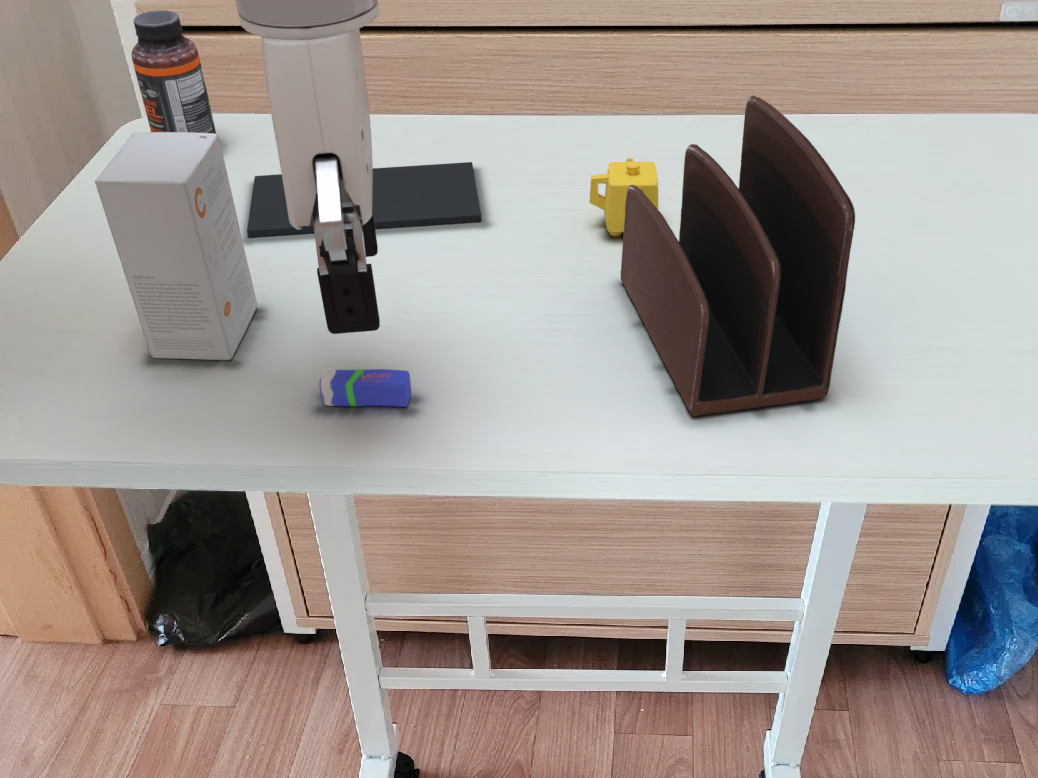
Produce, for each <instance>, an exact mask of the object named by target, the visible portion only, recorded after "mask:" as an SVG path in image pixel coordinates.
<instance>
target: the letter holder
mask: <svg viewBox="0 0 1038 778" xmlns="http://www.w3.org/2000/svg"><path fill="white" fill-rule="evenodd" d="M684 153H685V154H684V162H683V178H682V190H681V191H682V192H681V193H682V195H681V207H680V221H679V233H678V236H679V237H678V238H677V236H676V235H675V233H674V231H673V229H672V228H671V227H670V225H669V223H668V222H667V220H666V218H665V217H664V216H663V214H662V213H661V211H660V210H659V208H658V209H657V208H656V207H655V205H654V204H653V203H652V202H651V201H650V200H649V198H648V197H647V196H646V195H645V194H644V192H643V191H642V190H641V189H639V188H638V187H637V186H635V185H630V186H629V188H628V191H627V196H626V204H625V220H624V232H623V233H622V234H623V237H622V238H623V239H622V248H621V249H622V250H621V260H620V261H621V263H620V280H621V283H622V284H623V286H624V288H625V290H626V291H627V294H628V295H629V298H630V300H631V302H632V303H633V305H634V307H635V309H636V311H637V313H638V315H639V317H640V319H641V322H642V323H643V325H644V326H645V329H646V331H647V333H648V335H649V336H650V339H651V340H652V342H653V344H654V346H655V348H656V350H657V353H658V354H659V356H660V358H661V360H662V362H663V364H664V366H665V369H666V370H667V371H668V373H669V375H670V378H671V379H672V381H673V383H674V384H675V387H676V388H677V391H678V392H679V394H680V396H681V397H682V400H683V401H684V403H685V404H684V405H685V406H686V407H687V409H688V411H689V413H690V414H691V415H692V416H693V417H696V416H704V415H710V414H718V413H725V412H726V413H728V412H734V411H742V410H743V411H744V410H748V409H757V408H764V407H772V406H780V405H787V404H793V403H801V402H808V401H816V400H817V401H818V400H823V399H825V398H826V397H827V396H828V394H829V390H830V386H831V381H832V372H833V366H834V360H835V354H836V349H837V342H838V341H837V340H838V334H839V329H840V323H841V318H842V314H843V313H842V312H843V308H844V302H845V301H844V300H845V296H846V295H845V294H846V289H847V288H846V287H847V279H848V278H847V277H848V270H849V263H850V255H851V250H852V244H853V239H854V232H855V231H854V230H855V225H856V210H855V207H854V206H855V205H854V203H853V202H852V199H851V198H850V196H849V195H848V193H847V192H846V190H845V189H844V187H843V185H842V184H841V182H840V181H839V178H838V177H837V175H835V173H834V171H833V170H832V169H831V166H830V165H829V164H828V163H827V161H826V160H825V158H824V157H823V156H822V154H821V153H820V152H819V151H818V150H817V148H816V147H815V145H813V144H812V142H811V141H810V140H809V139H808V138H807V137H806V136H805V135H804V133H802V131H800V129H798V127H796V125H794V123H792V122H791V121H790V120H789V119H788V118H787V117H786V116H785V115H784V114H783V113H781V112H780V111H779V110H778V109H777V108H776V107H775V106H773V105H772V104H770V103H769V102H767V101H766V100H764V99H762V98H761V97H759V96H755V95H751V96H750V97H749V98H748V99H747V101H746V104H745V110H744V120H743V132H742V143H741V153H740V154H741V155H740V169H739V180H738V186H737V184H736V183H735V182H734V180H733V179H732V178H731V177H730V175H729V174H728V173H727V171H725V169H724V168H722V166H721V165H720V164H719V162H717V161H716V159H714V158H713V156H711V155H710V153H708V152H707V151H705V150H704V149H702V147H700V146H699V145H698V144H693V143H690V144H689V145H688V146H687V148H686V150H685V152H684Z"/></svg>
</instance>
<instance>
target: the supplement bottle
mask: <svg viewBox="0 0 1038 778" xmlns="http://www.w3.org/2000/svg"><path fill="white" fill-rule="evenodd" d="M133 26H134V29H135V35H136V36H137V43H136V44H135V45H134V46H133V48H132V49H131V60H132V65H133V69H134V72H135V76H136V80H137V83H138V88H139V92H140V95H141V99H142V102H143V106H144V111H145V115H146V117H147V121H148V125H149V129H150V132H190V133H213V134H217V131H216V130H217V129H216V127H215V126H216V125H215V122H214V117H213V113H212V108H211V104H210V99H209V94H208V89H207V85H206V80H205V75H204V72H203V67H202V63H201V59H200V53H199V51H198V48H197V46H196V44H195V43H194V42H193V40H191V39H190V38H188V37H186V36H184V35H183V34H182V32H183V27H182V24H181V20H180V16H179V14H178V13H177V12H175V11H172V10H165V9H163V10H160V9H157V10H149V11H145V12H143V13H142V12H141V13H140V14H138V15H136V16H135V17H134V18H133Z"/></svg>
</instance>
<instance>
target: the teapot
mask: <svg viewBox="0 0 1038 778" xmlns="http://www.w3.org/2000/svg"><path fill="white" fill-rule="evenodd" d="M599 184H601V185H602V184H605V191H604V195H602V194H600V193H599ZM630 185H635V186H637V187H638V188H639V189H641V190H642V191H643V192H644V194H645V195H646V196H647V197H648V198H649V200H650V201H651V202H652V203H653V204H654V205H655V207H656V208H657V209H658V210H659V180H658V171H657V164H656V163H655V162H654V161H634V158H632V157H631V158H628V157H627V158H626V160H625V161H610V162H609V163H608V167H607V173H601V174H591V175H590V189H589V204H591V205H593V206H595V207H597V208H599V209H601V210H603V211H604V212H603V213H604V220H605V225H606V231H607V232H608V233H609V235H610V236H613V237H620V236H621V235H622V234H623V233H624V220H625V204H626V196H627V191H628V188H629V186H630Z"/></svg>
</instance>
